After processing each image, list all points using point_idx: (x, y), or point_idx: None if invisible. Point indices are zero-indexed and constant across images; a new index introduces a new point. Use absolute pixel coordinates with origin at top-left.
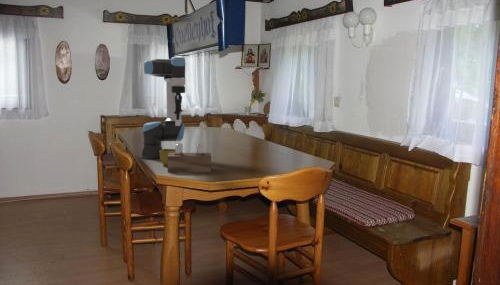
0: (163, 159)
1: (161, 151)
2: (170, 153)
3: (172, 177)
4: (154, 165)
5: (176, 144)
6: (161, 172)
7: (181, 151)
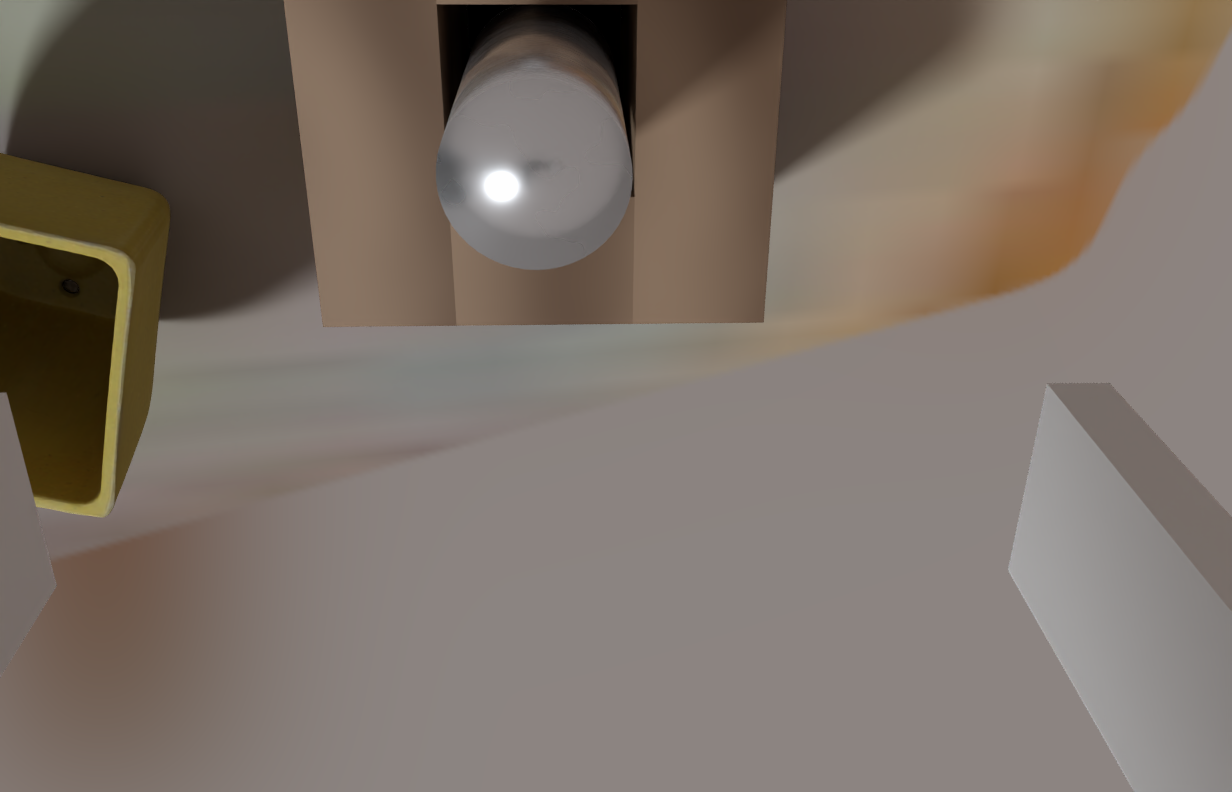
0: (153, 364)
1: (118, 474)
2: (423, 291)
3: (1106, 115)
4: (193, 448)
5: (606, 240)
6: None
7: (598, 64)
